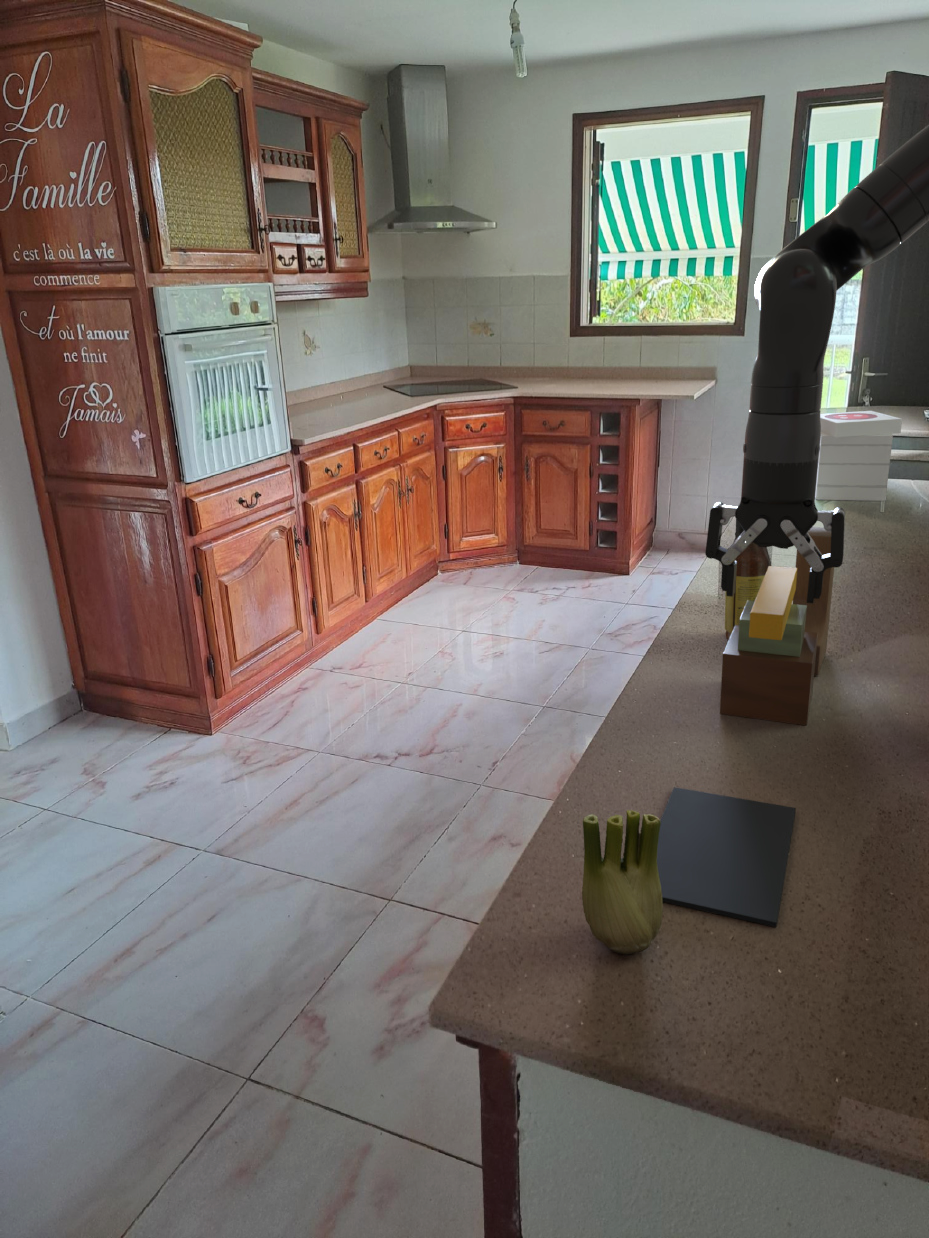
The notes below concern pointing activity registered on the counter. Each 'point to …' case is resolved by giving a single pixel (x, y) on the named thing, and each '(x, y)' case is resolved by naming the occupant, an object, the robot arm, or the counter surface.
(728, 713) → the green-topped brown box
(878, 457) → the pizza boxes
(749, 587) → the sauce bottle
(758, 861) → the mat
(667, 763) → the counter surface
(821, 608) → the wooden block
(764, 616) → the bar
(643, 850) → the fennel bulb
